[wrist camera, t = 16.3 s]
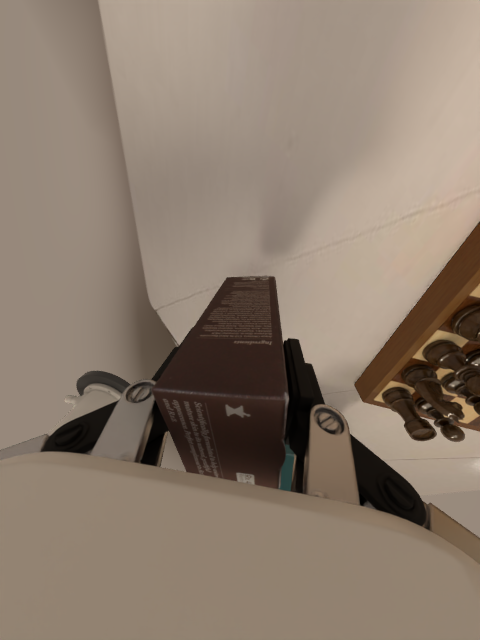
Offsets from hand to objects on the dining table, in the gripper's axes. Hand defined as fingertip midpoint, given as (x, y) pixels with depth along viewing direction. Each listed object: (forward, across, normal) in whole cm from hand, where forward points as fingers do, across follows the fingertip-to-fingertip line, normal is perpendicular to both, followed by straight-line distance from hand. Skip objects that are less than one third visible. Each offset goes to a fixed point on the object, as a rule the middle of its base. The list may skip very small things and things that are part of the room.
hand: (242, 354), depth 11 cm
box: (+7, 0, 0) cm, 7 cm away
